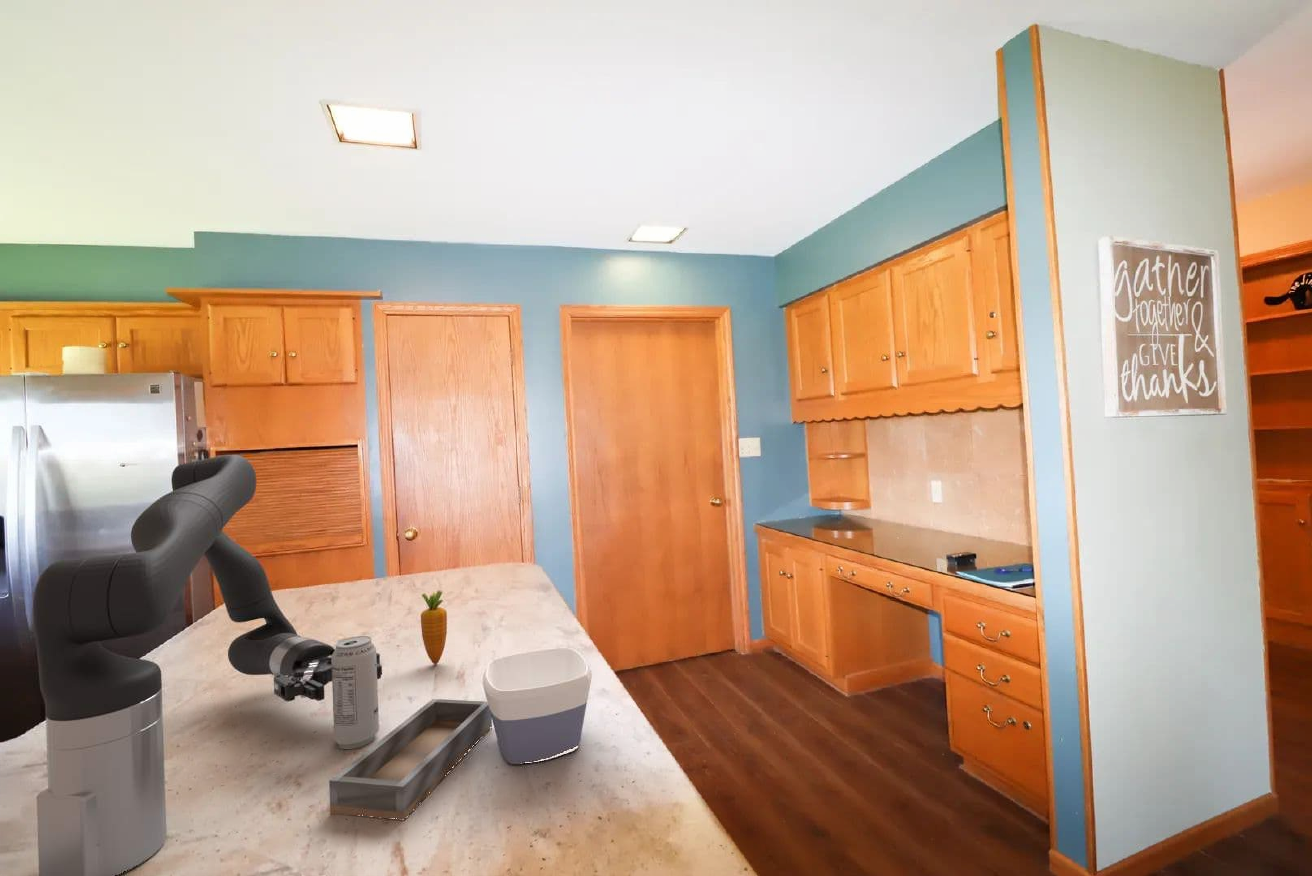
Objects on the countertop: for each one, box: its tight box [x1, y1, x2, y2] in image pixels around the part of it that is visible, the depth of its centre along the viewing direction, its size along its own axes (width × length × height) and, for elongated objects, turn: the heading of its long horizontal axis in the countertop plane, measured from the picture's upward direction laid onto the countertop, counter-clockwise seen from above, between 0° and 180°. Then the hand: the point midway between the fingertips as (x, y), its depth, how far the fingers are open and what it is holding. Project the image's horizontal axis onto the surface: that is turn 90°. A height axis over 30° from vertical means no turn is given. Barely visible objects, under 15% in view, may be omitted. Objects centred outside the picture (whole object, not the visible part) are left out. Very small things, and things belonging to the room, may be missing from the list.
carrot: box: [420, 589, 448, 665], centre depth 116 cm, size 5×5×15 cm
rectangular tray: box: [328, 698, 493, 819], centre depth 79 cm, size 22×10×4 cm, turn 169°
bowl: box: [482, 647, 593, 765], centre depth 84 cm, size 15×15×11 cm
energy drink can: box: [331, 635, 380, 750], centre depth 87 cm, size 6×6×15 cm
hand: (351, 682), depth 87 cm, fingers open, 8 cm apart
